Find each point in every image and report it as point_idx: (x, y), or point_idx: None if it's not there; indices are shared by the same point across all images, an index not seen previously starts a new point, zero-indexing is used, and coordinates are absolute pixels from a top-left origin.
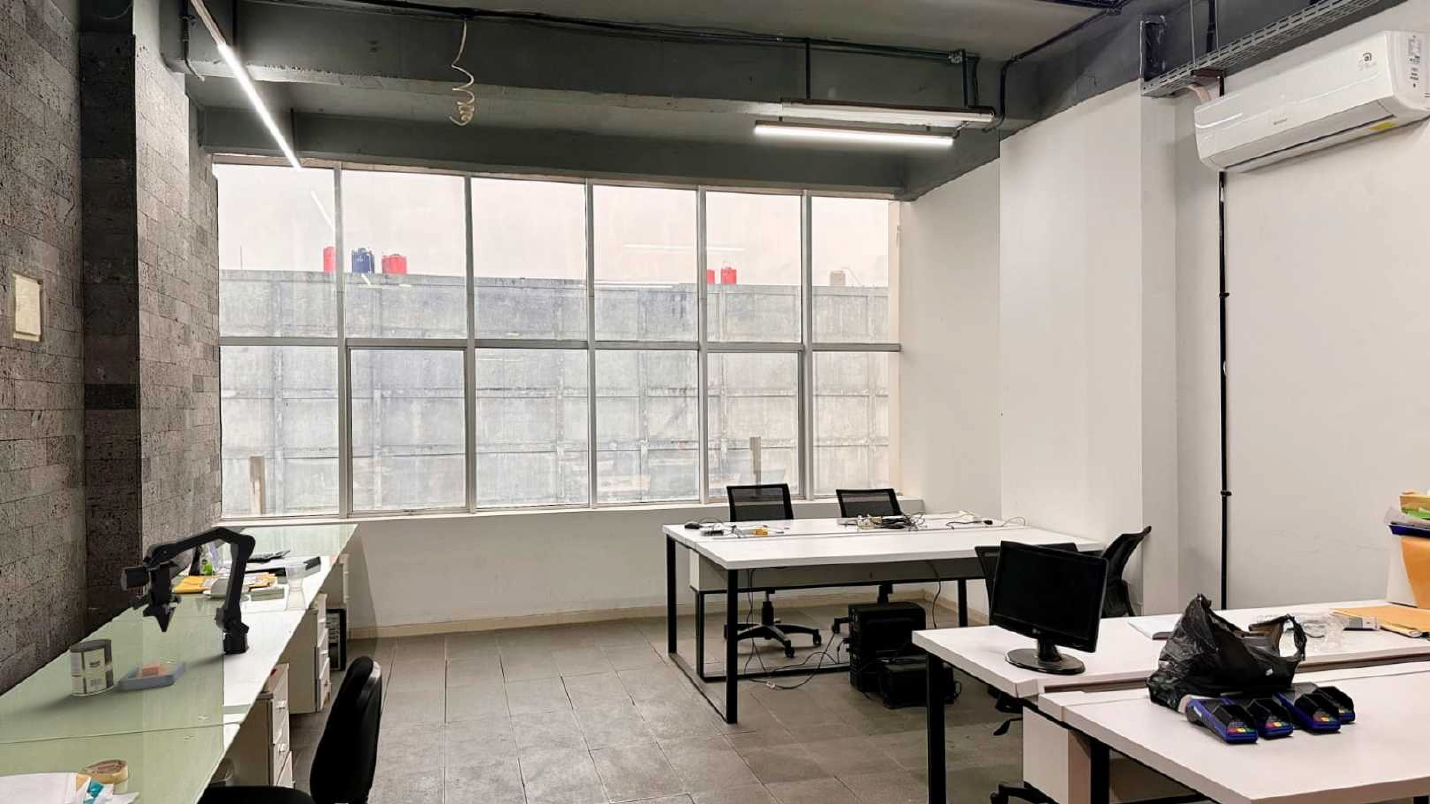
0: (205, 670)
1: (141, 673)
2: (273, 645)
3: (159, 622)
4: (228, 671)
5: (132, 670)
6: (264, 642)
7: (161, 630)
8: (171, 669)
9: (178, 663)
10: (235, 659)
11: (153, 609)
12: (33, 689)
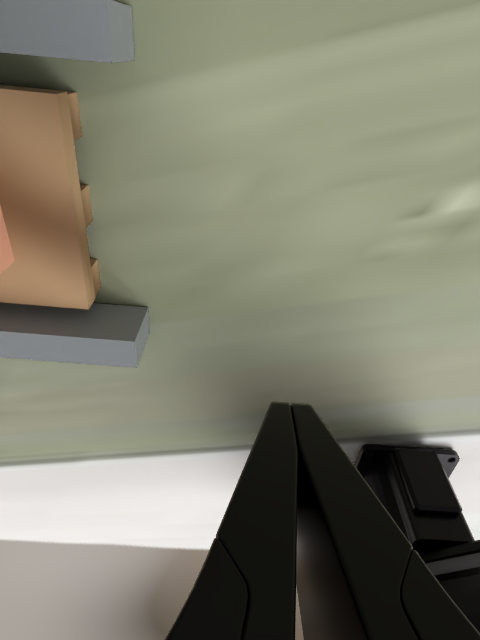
0: (117, 405)
1: (22, 103)
2: None
3: (203, 566)
4: (61, 472)
5: (10, 13)
6: None
7: (266, 417)
8: (65, 297)
9: (104, 340)
10: None
11: None
12: None
